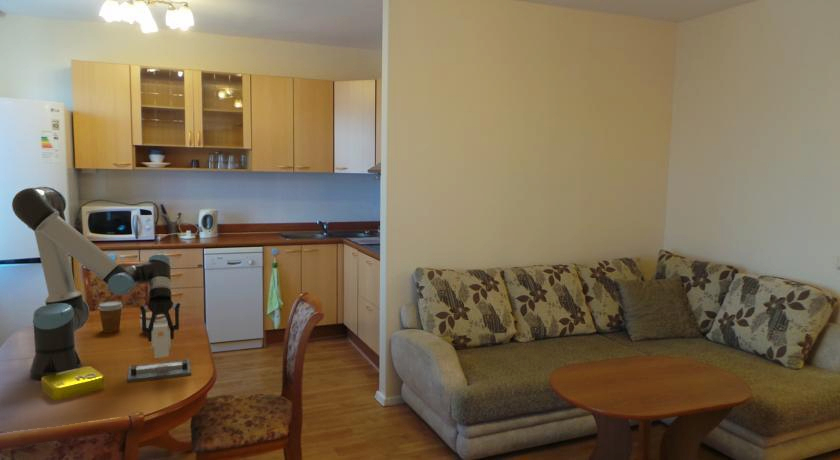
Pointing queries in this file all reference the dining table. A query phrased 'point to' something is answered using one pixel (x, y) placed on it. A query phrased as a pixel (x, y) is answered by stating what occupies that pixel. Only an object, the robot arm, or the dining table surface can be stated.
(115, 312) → the disposable coffee cup
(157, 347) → the block
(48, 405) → the dining table surface
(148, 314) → the lidded jar
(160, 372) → the mounting plate
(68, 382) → the element tile
